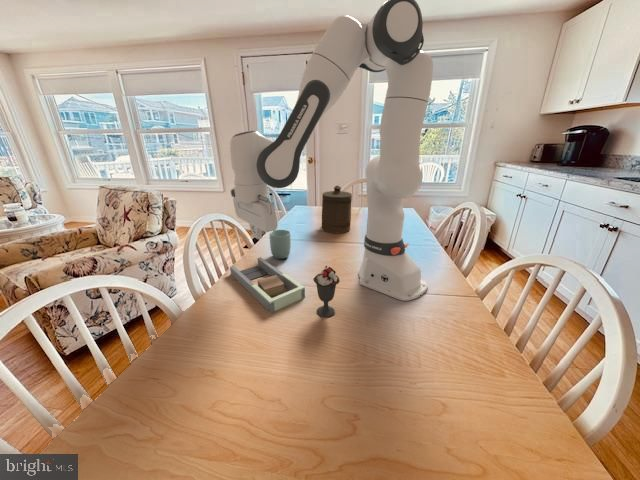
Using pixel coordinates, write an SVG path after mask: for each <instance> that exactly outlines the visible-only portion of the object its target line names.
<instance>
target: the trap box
mask: <svg viewBox="0 0 640 480" xmlns="http://www.w3.org/2000/svg"><path fill="white" fill-rule="evenodd" d="M229 270H230V275H231V276H232V277H233V278H234V279H236V281H237V282H238V283H239V284H240V285H241V286H242V287H244V289H245V290H246V291H248V293H249V294H251V295H252V297H254V298H255V299H256V301H258V302H259V303H260V304H261V305H262V306H263V308H265V309H266V310H267V311H268V312H269V313H271V314H272V313H274V312H277V311H279V310H280V309H283V308H286V307H287V306H290V305H291V304H294V303H296V302H298V301H300V300H303V299H305V298H306V291H305V289H306V287H305V286H304V285H302V284H301V283H300V282H298V281H297V280H295V279H294V278H292V277H291V276H290V275H288V274H286V273H284V272H282V271H281V270H279V269H278V268H277V267H275V266H274V265H272V264H271V263H269V262H268V261H266V260H265V259H264V258H262V257H257V264H256V265H253V266H251V267H248V268H244V269H242V270H239V269H238V268H237V267H236V266H234V265H230V266H229ZM267 275H270V277H271V276H275V275H277V276H278V278H279V279H280V280H281V281H282V282H283V283H284V287H286V288H287V289H288V291H285V293H283V294H281V295H278V296H276V297H274V298H271V297H270V296H268V295H267V294H266V293H265V292H264V291H263V290H262V289H261V288H259V287H258V284H255V283H254V282H252V281H253V280H255V279H258V278H261V277H264V276H267Z"/></svg>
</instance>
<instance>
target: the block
mask: <svg viewBox="0 0 640 480" xmlns="http://www.w3.org/2000/svg"><path fill="white" fill-rule="evenodd" d="M257 286H258V287H259V288H261V289H262V290H263V291H264V292H265V293H266V294H267V295H268V296H270V297H271V298H274V297H276V296H278V295H281V294H283V293H286V291H285V286H284V283H283V282H282V281H281V280H280V279H279V278H278V276H277V275H275V276H271V275H270V276H269V277H264V278H260V279H257Z"/></svg>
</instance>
